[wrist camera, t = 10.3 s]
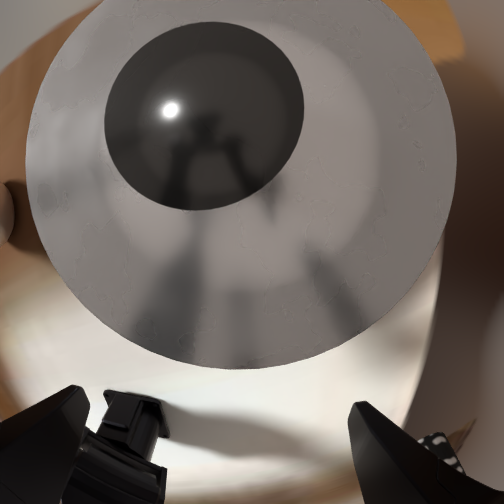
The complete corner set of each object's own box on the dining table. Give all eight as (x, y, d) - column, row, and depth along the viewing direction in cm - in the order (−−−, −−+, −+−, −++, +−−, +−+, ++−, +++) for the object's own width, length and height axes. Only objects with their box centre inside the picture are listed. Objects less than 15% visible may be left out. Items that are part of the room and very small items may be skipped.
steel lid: (410, 344, 13) (463, 418, 7) (68, 335, 14) (11, 398, 8) (419, -4, 8) (476, -51, 2) (64, 7, 8) (3, -30, 2)
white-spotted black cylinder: (445, 442, 28) (486, 527, 9) (401, 468, 29) (432, 558, 10) (442, 424, 26) (493, 524, 7) (392, 454, 27) (428, 561, 8)
